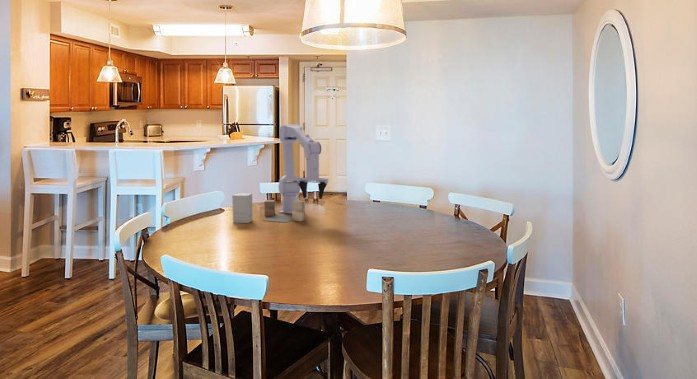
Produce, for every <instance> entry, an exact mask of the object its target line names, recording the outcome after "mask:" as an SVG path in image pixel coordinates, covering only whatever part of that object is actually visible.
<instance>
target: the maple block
mask: <svg viewBox="0 0 697 379" xmlns="http://www.w3.org/2000/svg"><path fill="white" fill-rule="evenodd" d="M291 216H292V220H291V221H292V222H301V223H302V222H304V221H306V200H300V199H299V200H296V201H293V202H292V214H291Z"/></svg>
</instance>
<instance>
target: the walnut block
mask: <svg viewBox="0 0 697 379" xmlns="http://www.w3.org/2000/svg"><path fill="white" fill-rule="evenodd" d="M275 215H276V200H275V199H265V200H264V217H269V216H270V217H272V216H275Z"/></svg>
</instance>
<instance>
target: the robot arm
mask: <svg viewBox="0 0 697 379" xmlns="http://www.w3.org/2000/svg"><path fill="white" fill-rule="evenodd" d="M279 141H280V142H281V143H282V155H283V156H282V157H283V172H284V175H283V176H282V177H281V178H280V179H278V193H280V195H281V197H282V198H281V199H282V200H281V201H282V202H281V203H282V204H281V205H282V207H281V210H280V211H278V212H279V213H281V214H291V215H292V202H293V201H296V200H299V201H300V198H299V196H298V195H299V193H300V192H301V193H302V196H303V199H306V198H308V197H307V196H308V183H314V184H315V183H317V185H318V199H319V200H321V199H323V196H324V192H325V190H326V187H327V185H328V184H329V178H324V177H322V178H321V177H320V154H321V153H322V145H321V143H320V142H319V141H314V139H312V137H311V136H310V134H306V133H304V131H303V127H302V125H301V124H281V125H280V127H279ZM297 141H298V144H299V145H300V146H301V147H302V148H303V152H304V157H305V160H306V161H305V162H306V163H305V164H306V167H305V168H306V169H305V170H306V176H305V177H298V176H296V175H295V165H294V164H295V163H294V162H295V161H294V143H295V142H297Z"/></svg>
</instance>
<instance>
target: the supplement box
mask: <svg viewBox="0 0 697 379" xmlns="http://www.w3.org/2000/svg"><path fill="white" fill-rule="evenodd" d="M231 198H232V199H231V200H232V223H233V224H249V223H251V222H252V221H253V220H254V219H253V217H254V216H253V214H254V213H253V193H243V192H242V193H241V192H238V193H235V194H233V195H232V197H231Z"/></svg>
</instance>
